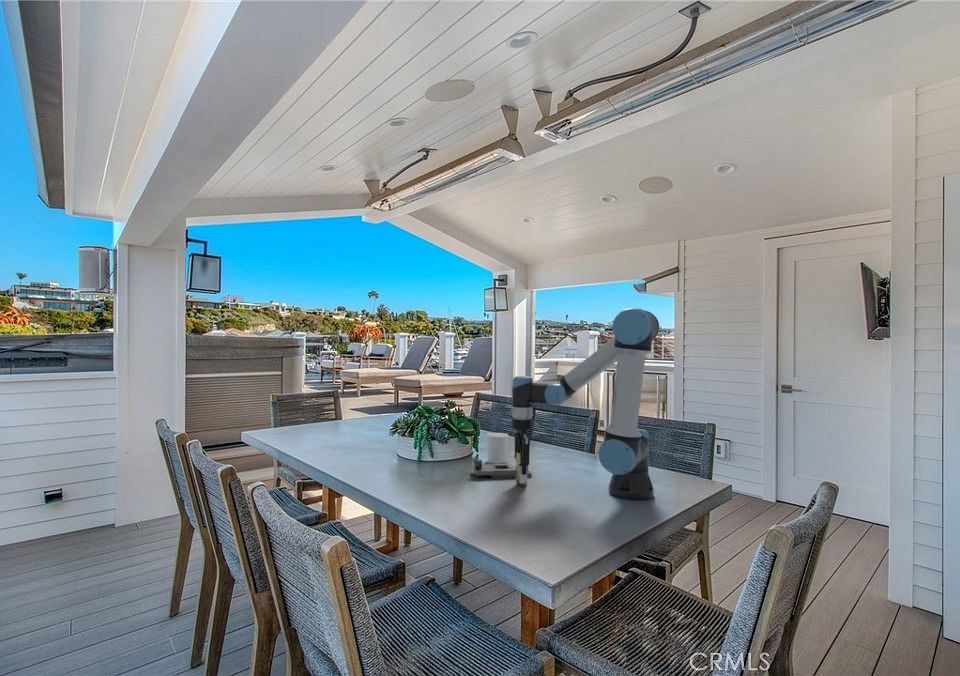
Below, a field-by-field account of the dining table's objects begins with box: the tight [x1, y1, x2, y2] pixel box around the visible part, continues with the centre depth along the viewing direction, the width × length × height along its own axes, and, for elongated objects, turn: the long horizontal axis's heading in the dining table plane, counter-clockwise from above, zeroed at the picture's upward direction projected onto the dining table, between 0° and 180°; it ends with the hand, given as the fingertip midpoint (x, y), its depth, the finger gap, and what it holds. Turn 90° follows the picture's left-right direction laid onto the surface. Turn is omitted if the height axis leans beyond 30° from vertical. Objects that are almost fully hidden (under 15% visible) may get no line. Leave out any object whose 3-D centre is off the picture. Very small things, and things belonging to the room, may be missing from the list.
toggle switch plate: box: [471, 459, 533, 480], centre depth 192 cm, size 22×10×6 cm, turn 101°
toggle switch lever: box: [515, 452, 528, 488], centre depth 178 cm, size 4×4×12 cm
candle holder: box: [486, 432, 509, 464], centre depth 213 cm, size 10×10×12 cm
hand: (521, 480), depth 178 cm, fingers closed on toggle switch lever, 4 cm apart
